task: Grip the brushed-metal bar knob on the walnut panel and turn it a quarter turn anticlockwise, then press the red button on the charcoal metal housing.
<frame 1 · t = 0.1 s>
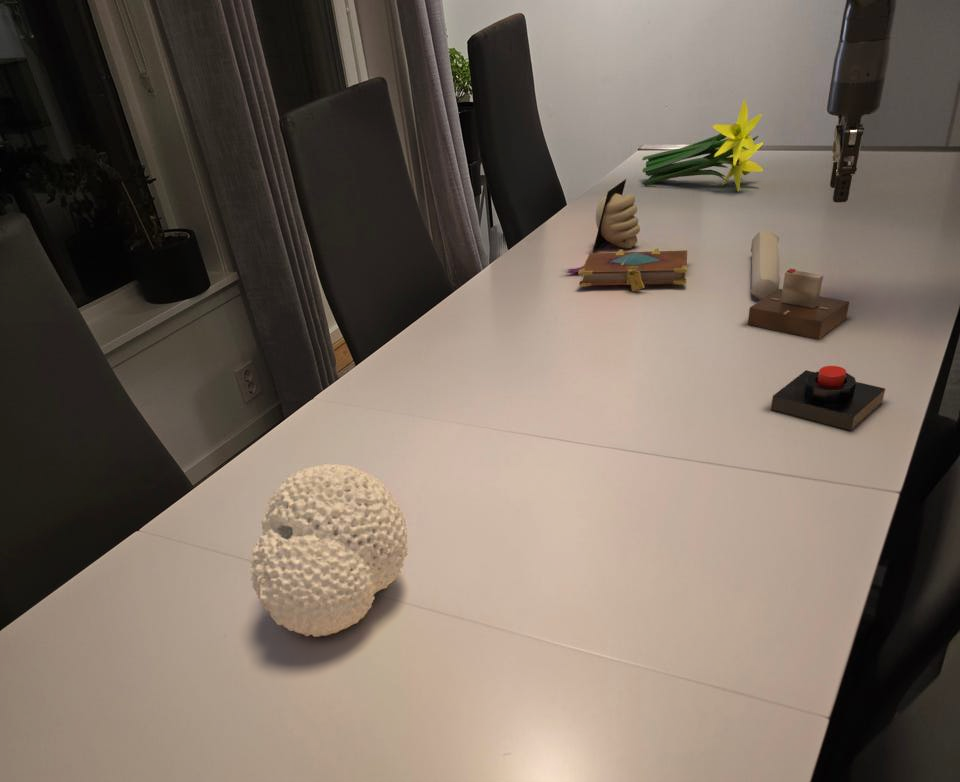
hand: (838, 194, 135), 18 cm above the table, tool pointing down, fingers open, 8 cm apart
book: (624, 280, 168), on the table
button: (831, 376, 118), point 4 cm above the table, slide at 0.1 cm
daffodil flowers: (696, 188, 211), on the table
button box: (826, 406, 121), on the table
knob panel: (796, 321, 144), on the table
knob: (801, 288, 140), point 6 cm above the table, hinge at 0.0°
cream bumpy rounded lump: (348, 602, 97), on the table
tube: (763, 279, 160), on the table
decorative object: (618, 247, 183), on the table
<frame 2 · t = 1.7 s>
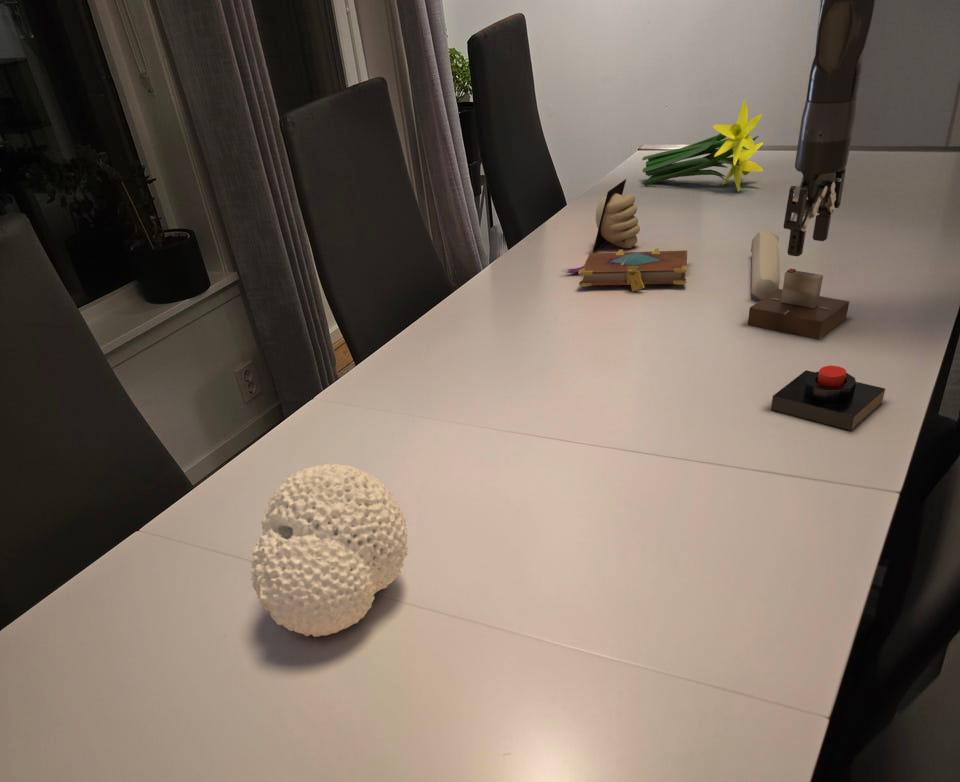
hand: (807, 247, 136), 12 cm above the table, tool pointing down, fingers open, 8 cm apart
nothing on the table moved.
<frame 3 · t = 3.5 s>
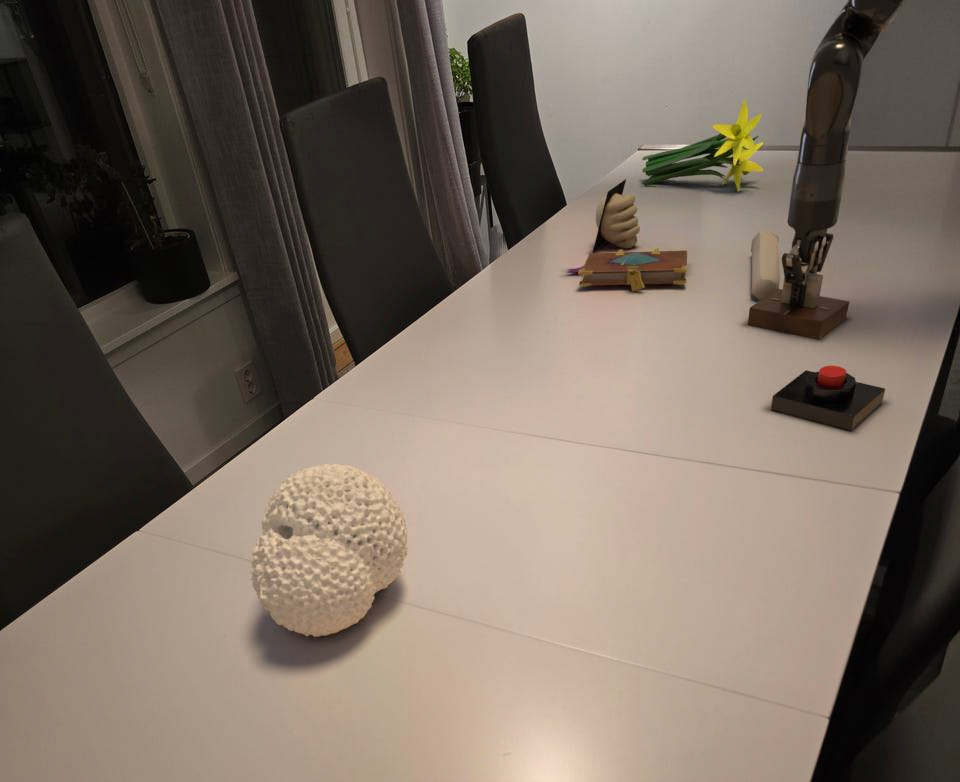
hand: (799, 303, 142), 3 cm above the table, tool pointing down, fingers closed
knob: (801, 288, 140), point 6 cm above the table, hinge at 0.0°, touching gripper
everything else where it was.
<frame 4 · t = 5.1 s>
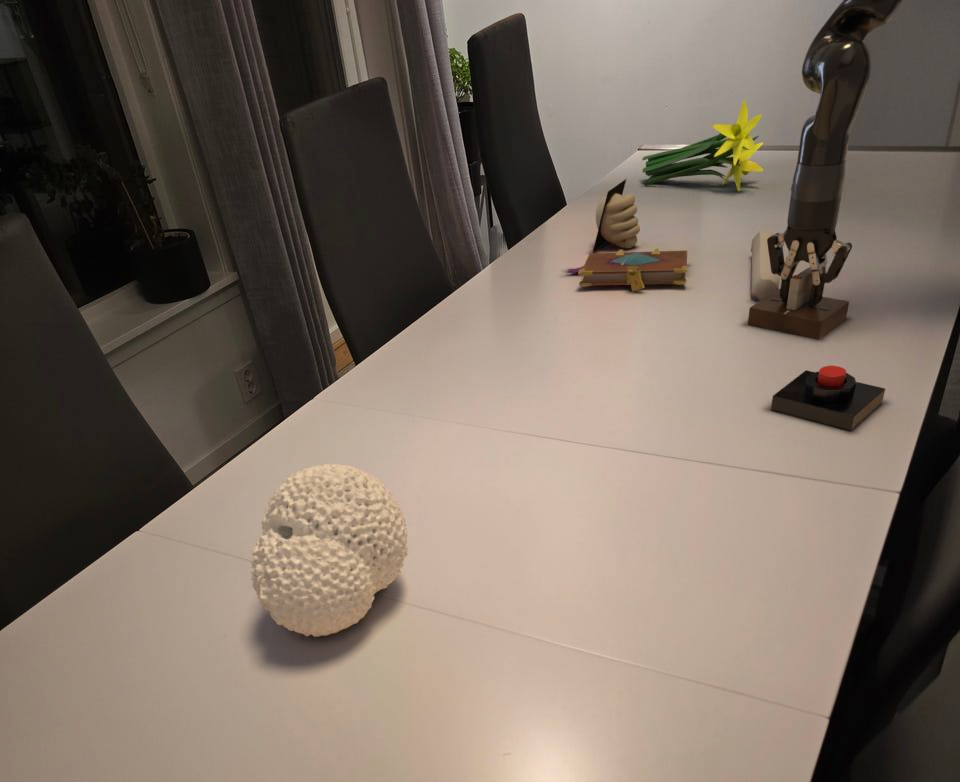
hand: (799, 302, 142), 3 cm above the table, tool pointing down, fingers open, 4 cm apart
knob: (801, 288, 140), point 6 cm above the table, hinge at 89.7°
everything else where it was.
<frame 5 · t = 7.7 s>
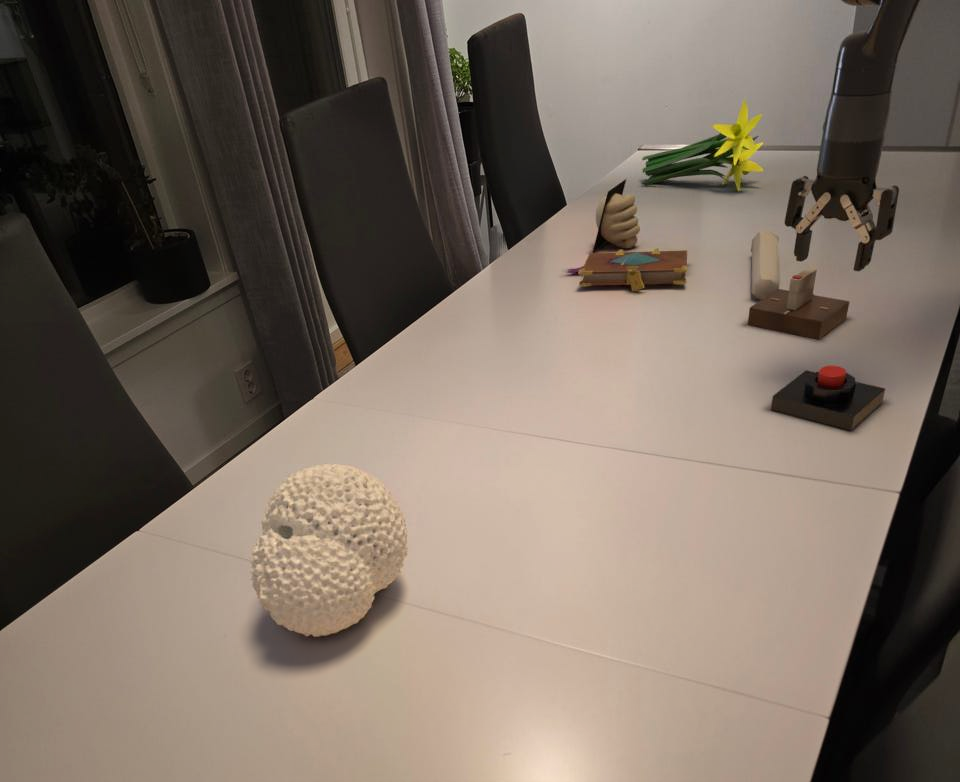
hand: (829, 264, 117), 17 cm above the table, tool pointing down, fingers open, 8 cm apart
nothing on the table moved.
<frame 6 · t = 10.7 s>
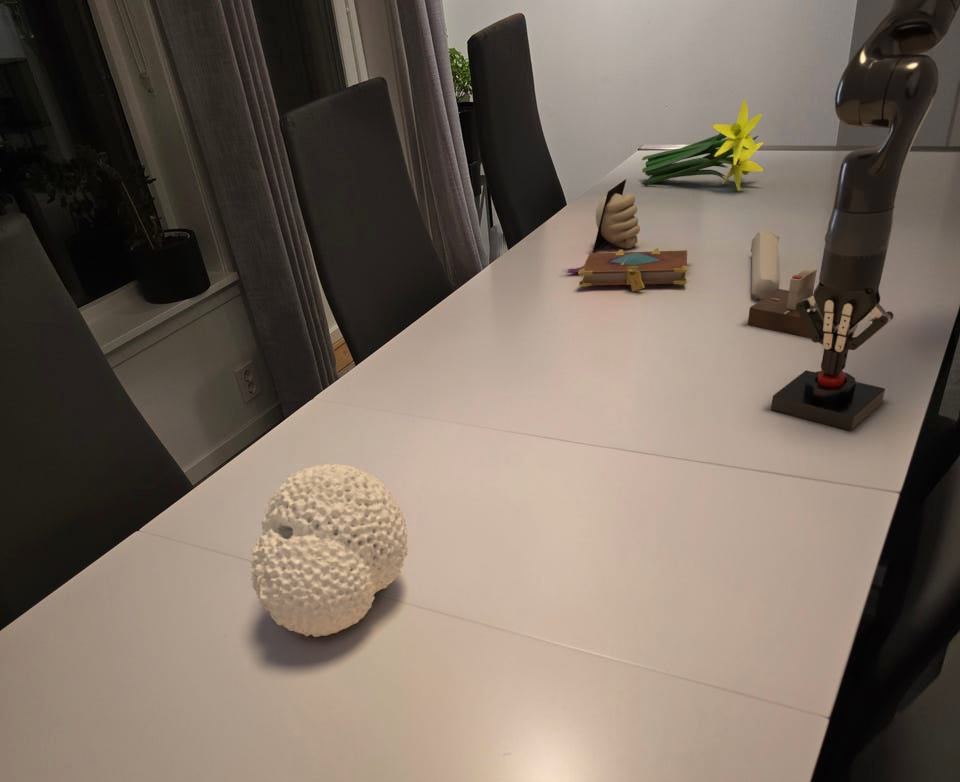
hand: (831, 373, 117), 5 cm above the table, tool pointing down, fingers closed
button: (831, 379, 118), point 4 cm above the table, slide at -0.3 cm, touching gripper
everything else where it was.
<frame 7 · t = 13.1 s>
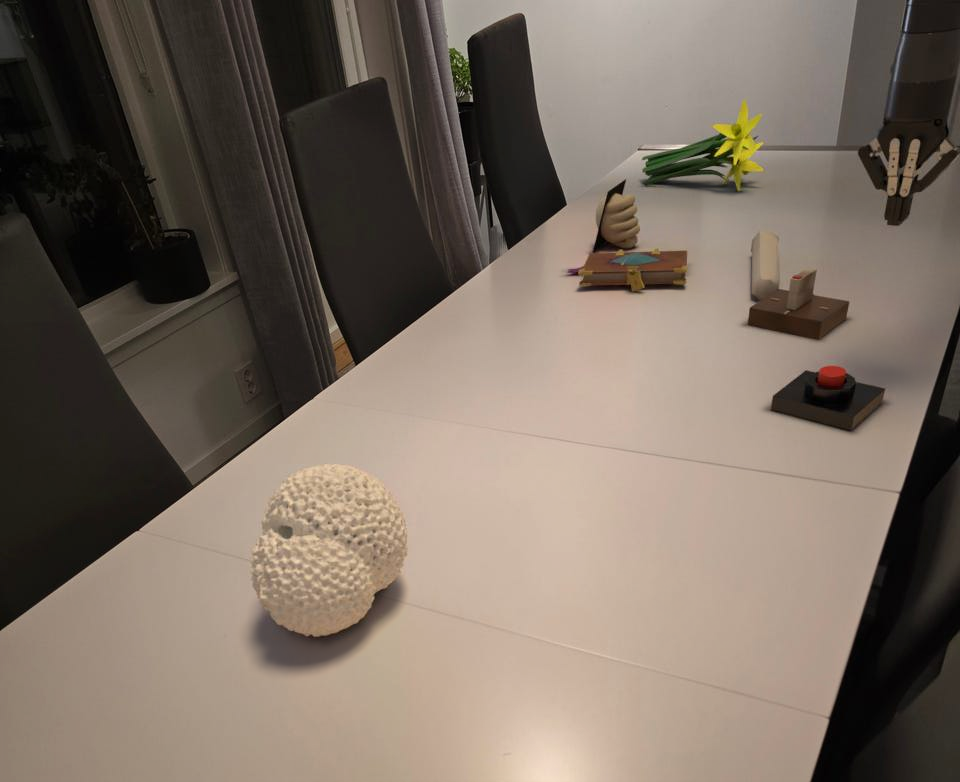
hand: (894, 223, 114), 21 cm above the table, tool pointing down, fingers closed
button: (831, 376, 118), point 4 cm above the table, slide at 0.1 cm
everything else where it was.
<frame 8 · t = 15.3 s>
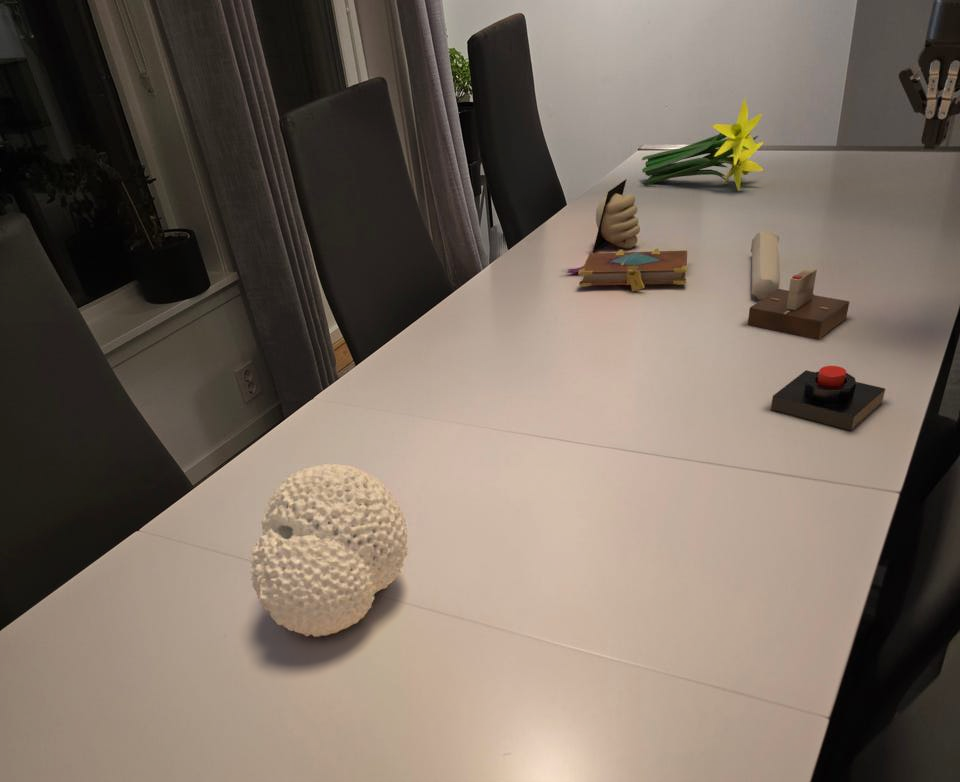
hand: (931, 147, 119), 27 cm above the table, tool pointing down, fingers closed
nothing on the table moved.
at the end: knob at +90° (first picture: +0°); button pushed in 1.1 cm at the most during the clip, back to where it started at the end; button slide at 0.1 cm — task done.
